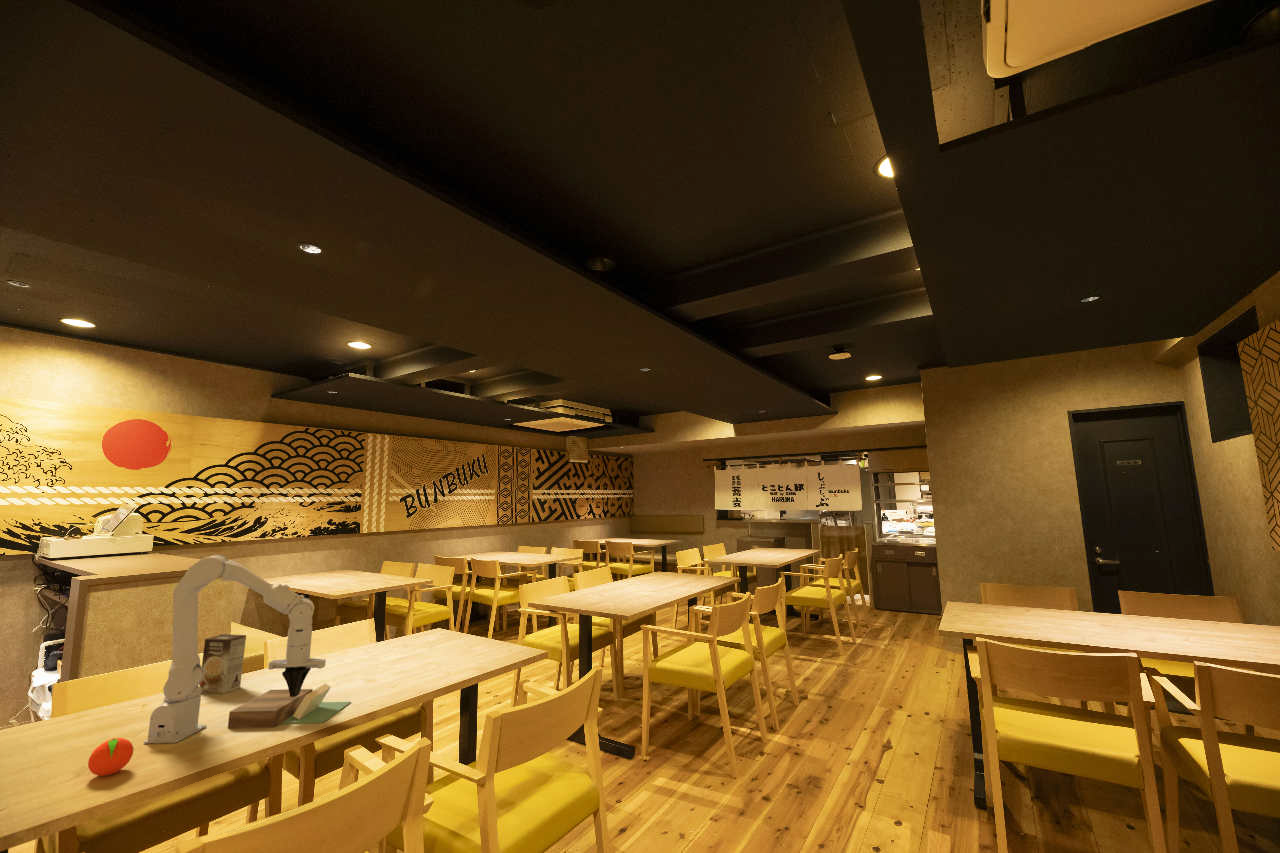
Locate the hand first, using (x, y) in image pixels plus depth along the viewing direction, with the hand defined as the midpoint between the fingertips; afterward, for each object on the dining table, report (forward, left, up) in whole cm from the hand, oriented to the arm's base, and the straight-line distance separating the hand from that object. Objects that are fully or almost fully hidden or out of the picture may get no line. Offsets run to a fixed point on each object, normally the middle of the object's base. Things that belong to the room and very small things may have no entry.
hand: (294, 695), depth 143 cm
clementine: (-31, +20, -5) cm, 37 cm away
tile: (0, -4, -1) cm, 4 cm away
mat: (+1, -6, -5) cm, 8 cm away
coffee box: (+21, +36, -5) cm, 42 cm away
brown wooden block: (0, +6, -5) cm, 8 cm away
